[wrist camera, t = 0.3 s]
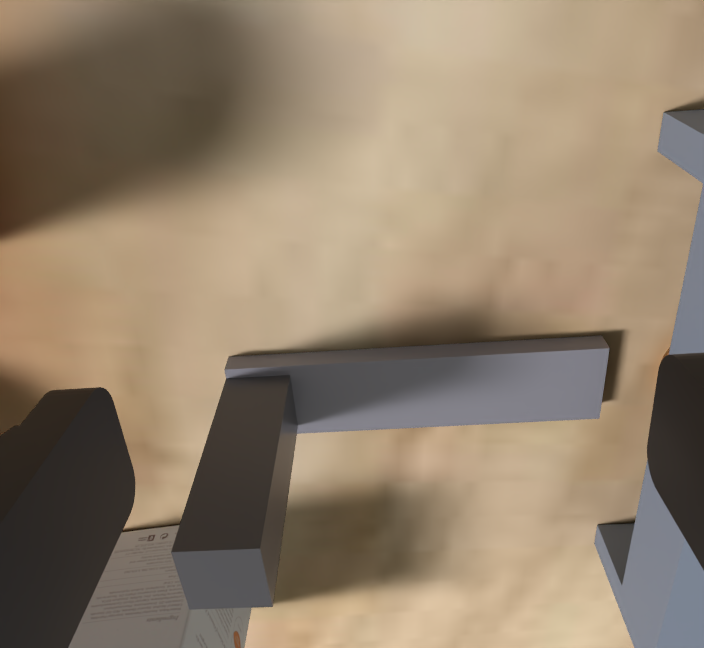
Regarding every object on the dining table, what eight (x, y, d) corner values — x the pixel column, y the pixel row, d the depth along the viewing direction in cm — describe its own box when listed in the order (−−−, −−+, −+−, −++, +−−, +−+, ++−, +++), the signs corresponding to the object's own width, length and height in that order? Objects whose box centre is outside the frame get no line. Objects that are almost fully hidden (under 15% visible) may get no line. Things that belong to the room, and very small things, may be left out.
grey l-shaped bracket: (229, 355, 31) (167, 541, 21) (601, 334, 30) (713, 519, 20) (242, 421, 33) (192, 618, 23) (591, 403, 32) (690, 601, 22)
